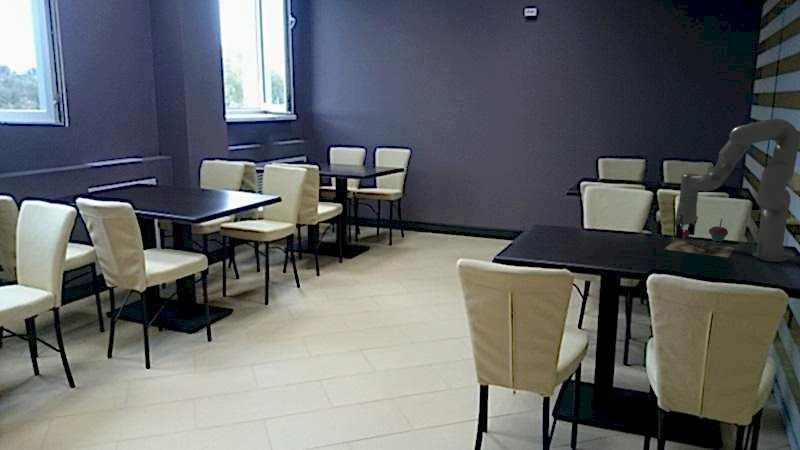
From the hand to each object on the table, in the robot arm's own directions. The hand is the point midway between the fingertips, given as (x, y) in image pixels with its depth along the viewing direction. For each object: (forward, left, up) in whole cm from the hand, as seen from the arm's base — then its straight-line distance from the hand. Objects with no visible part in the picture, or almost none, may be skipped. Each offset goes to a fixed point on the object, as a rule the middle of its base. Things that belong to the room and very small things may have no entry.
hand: (684, 235), depth 287 cm
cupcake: (-11, -22, -5) cm, 25 cm away
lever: (-8, +5, -3) cm, 10 cm away
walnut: (-12, +15, -4) cm, 19 cm away
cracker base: (-8, +8, -5) cm, 12 cm away
